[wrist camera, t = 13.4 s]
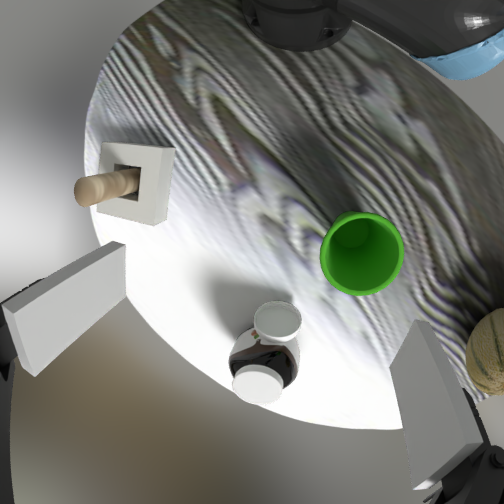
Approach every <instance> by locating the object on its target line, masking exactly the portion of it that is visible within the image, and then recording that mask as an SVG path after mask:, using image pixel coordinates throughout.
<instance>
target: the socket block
mask: <svg viewBox="0 0 504 504" xmlns="http://www.w3.org/2000/svg"><path fill="white" fill-rule="evenodd" d="M175 150H176V148H172V147H164V146H156V145H147V144H137V143H127V142H102V145H101V154H100V165H99V174H103V173H109V172H114V171H120V170H126V169H129V165H130V166H137V167H141V176H140V186H139V194H134V193H130V194H126V195H123V196H119V197H116V198H113V199H110V200H106V201H103V202H100V203H97V212H99V213H103V214H107V215H111V216H115V217H119V218H123V219H127V220H131V221H135V222H139V223H143V224H147V225H151V226H155V225H157V224H159V223H161V222H163V221H165V220H167V212H168V203H169V194H170V186H171V178H172V171H173V164H174V157H175Z"/></svg>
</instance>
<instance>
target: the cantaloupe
mask: <svg viewBox="0 0 504 504" xmlns="http://www.w3.org/2000/svg"><path fill="white" fill-rule="evenodd" d="M466 365H467V371H468V374H469V377H470V379H471V381H472V382H473V384H474V385H475V386H476V387H477V388H478V389H479V390H481V391H483V392H484V393H486V394H488V395H504V308H500V309H496V310H494V311H493V312H491V313H489V314H488V315H486V316H485V317H484V318H483V319H482V320H480V321H479V323H478V324H477V325H476V326H475V328H474V330H473V331H472V333H471V336H470V337H469V340H468V343H467V347H466Z"/></svg>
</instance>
